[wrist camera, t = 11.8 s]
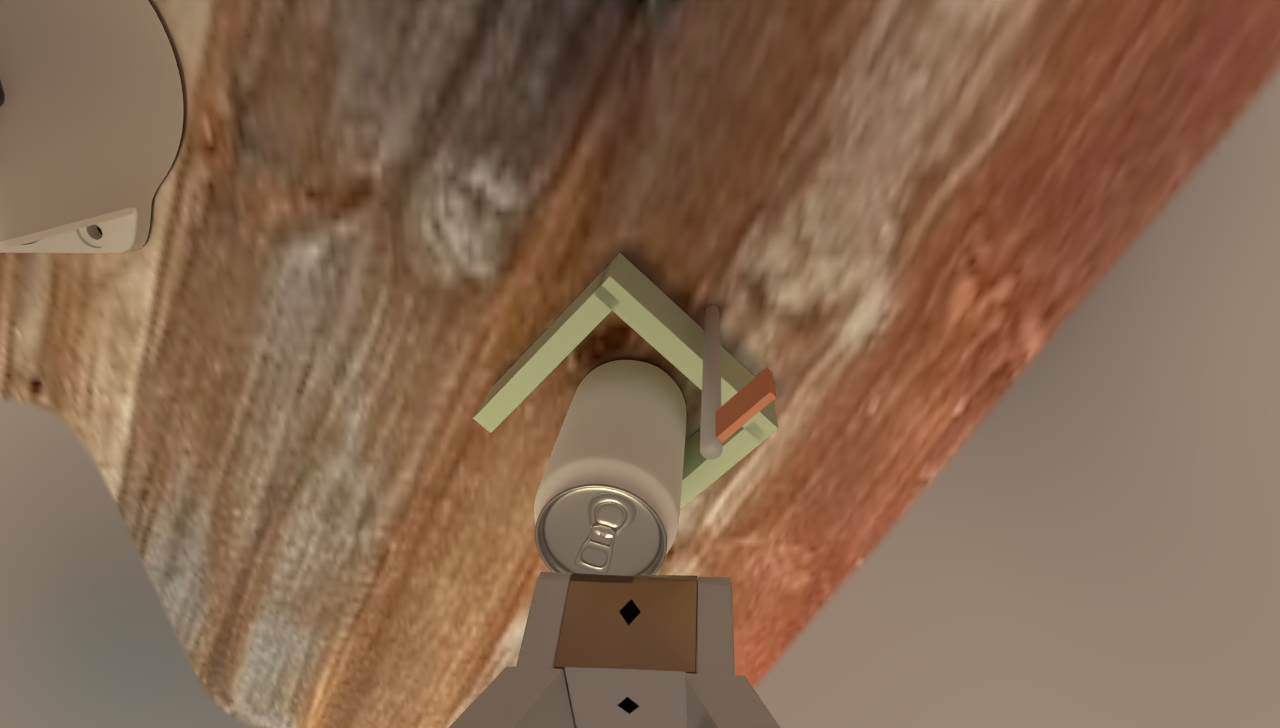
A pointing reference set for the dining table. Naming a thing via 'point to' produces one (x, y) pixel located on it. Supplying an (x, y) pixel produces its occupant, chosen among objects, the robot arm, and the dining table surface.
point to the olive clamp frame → (729, 391)
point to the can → (614, 474)
